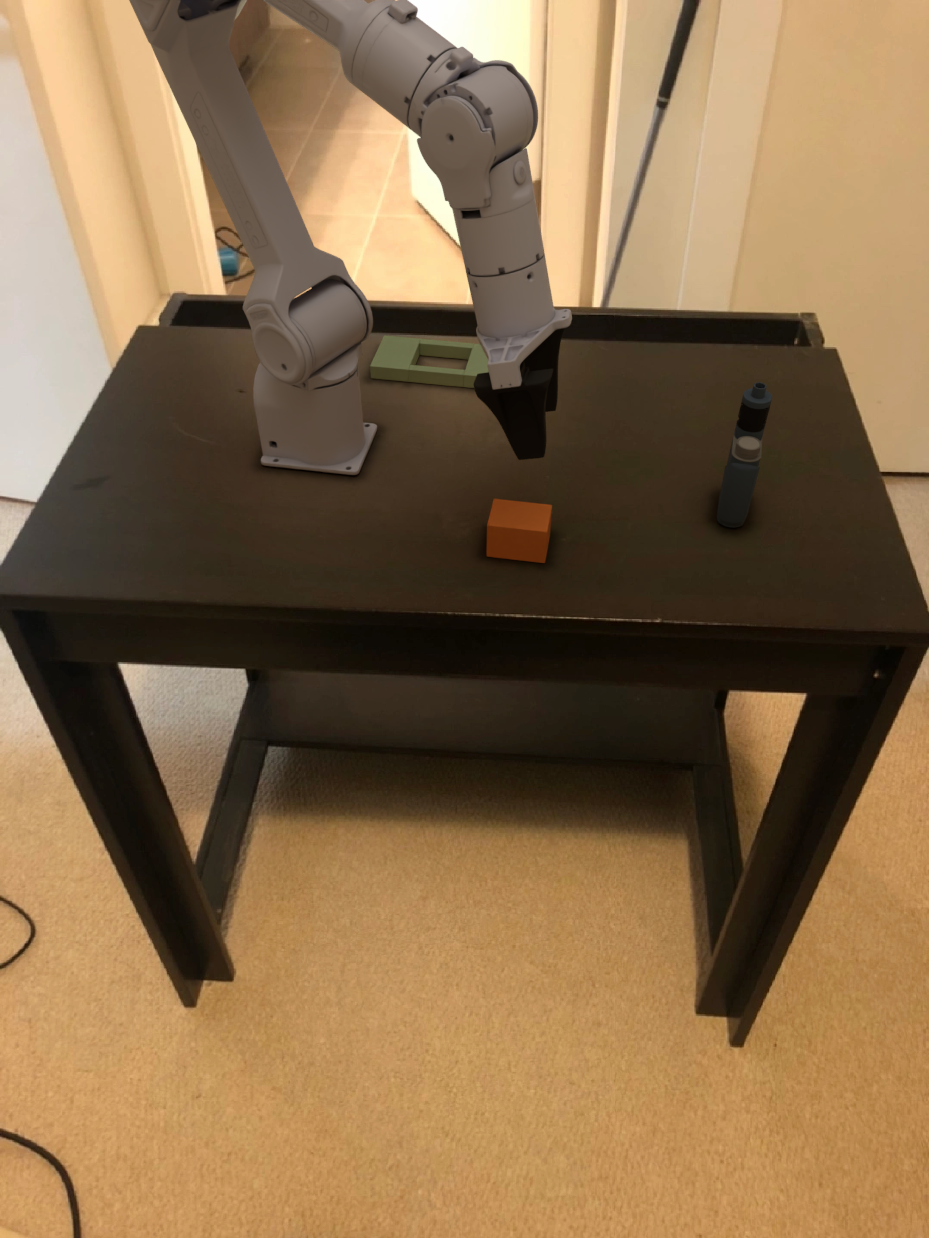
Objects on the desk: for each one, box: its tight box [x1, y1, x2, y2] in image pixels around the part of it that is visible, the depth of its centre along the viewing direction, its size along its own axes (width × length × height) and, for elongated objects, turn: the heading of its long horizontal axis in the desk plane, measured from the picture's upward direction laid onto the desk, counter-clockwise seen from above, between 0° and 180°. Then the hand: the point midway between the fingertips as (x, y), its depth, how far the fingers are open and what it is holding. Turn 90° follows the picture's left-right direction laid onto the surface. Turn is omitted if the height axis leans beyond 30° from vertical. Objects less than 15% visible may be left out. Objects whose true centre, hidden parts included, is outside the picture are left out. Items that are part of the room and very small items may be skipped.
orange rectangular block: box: [486, 498, 553, 564], centre depth 83 cm, size 5×4×4 cm
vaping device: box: [716, 381, 773, 529], centre depth 83 cm, size 3×5×12 cm, turn 166°
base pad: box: [369, 334, 489, 389], centre depth 104 cm, size 14×6×2 cm, turn 80°
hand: (538, 432), depth 78 cm, fingers open, 7 cm apart
